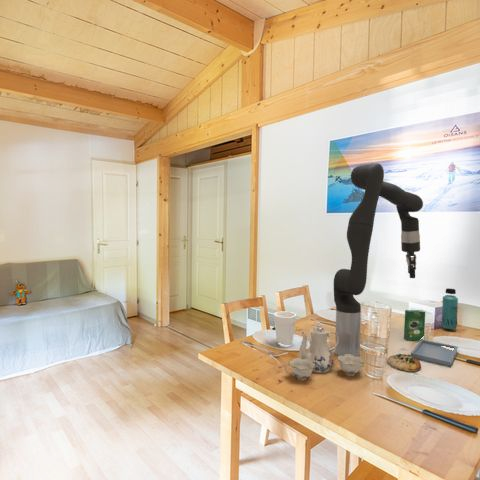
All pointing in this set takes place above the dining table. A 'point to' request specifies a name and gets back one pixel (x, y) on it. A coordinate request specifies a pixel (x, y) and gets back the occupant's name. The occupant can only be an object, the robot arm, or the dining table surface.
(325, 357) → the chinaware
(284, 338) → the foam cup
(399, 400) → the dining table surface
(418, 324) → the coffee box
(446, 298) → the beverage bottle
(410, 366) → the bread roll
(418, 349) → the dish
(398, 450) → the dining table surface
